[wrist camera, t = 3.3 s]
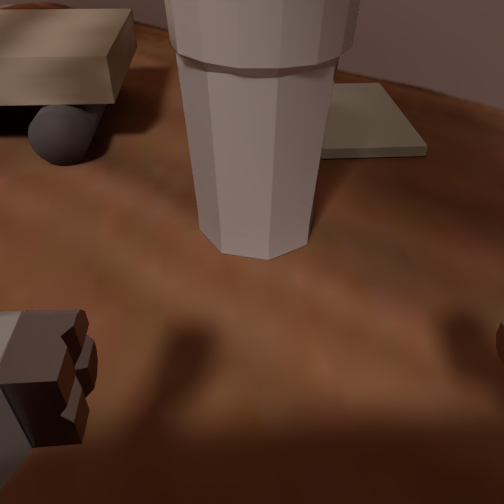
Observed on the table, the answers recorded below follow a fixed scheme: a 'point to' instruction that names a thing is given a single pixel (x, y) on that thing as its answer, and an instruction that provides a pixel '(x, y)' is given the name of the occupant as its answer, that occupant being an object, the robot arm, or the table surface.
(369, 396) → the table surface
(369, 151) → the pad
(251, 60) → the cup
